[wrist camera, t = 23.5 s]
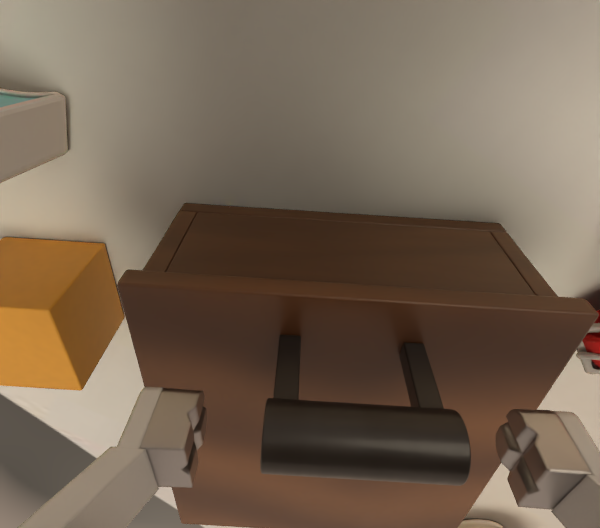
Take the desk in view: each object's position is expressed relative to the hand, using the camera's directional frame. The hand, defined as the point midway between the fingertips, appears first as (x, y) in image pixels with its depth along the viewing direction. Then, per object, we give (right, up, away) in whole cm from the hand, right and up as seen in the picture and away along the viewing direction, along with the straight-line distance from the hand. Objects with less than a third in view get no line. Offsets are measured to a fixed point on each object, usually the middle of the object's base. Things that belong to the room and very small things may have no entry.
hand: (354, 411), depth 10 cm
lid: (0, -3, +7) cm, 7 cm away
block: (-14, +3, +10) cm, 17 cm away
